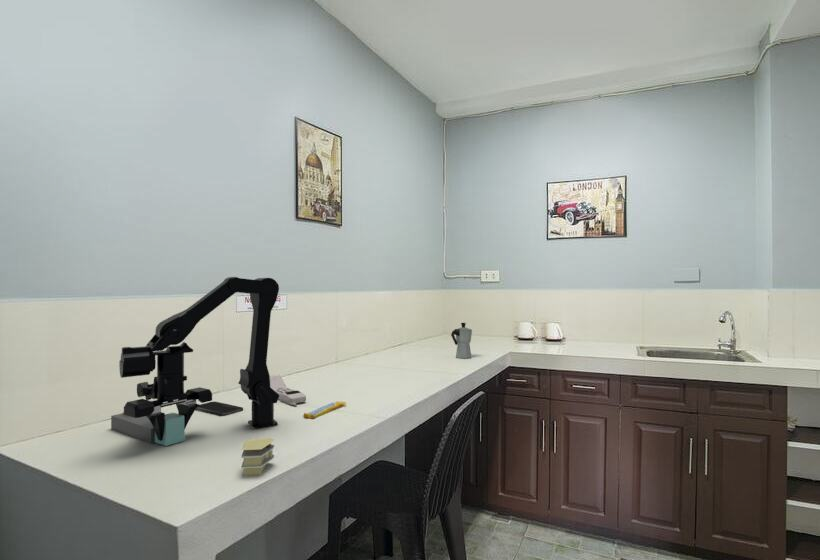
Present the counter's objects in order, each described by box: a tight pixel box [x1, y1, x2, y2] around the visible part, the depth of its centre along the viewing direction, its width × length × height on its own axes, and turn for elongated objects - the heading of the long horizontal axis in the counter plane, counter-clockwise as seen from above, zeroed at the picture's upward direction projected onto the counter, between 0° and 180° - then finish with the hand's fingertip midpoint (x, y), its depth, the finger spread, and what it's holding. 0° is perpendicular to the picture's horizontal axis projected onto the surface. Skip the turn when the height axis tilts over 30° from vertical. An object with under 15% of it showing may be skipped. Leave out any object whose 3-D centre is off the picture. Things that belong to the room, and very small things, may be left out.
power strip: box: [110, 411, 156, 444], centre depth 117 cm, size 20×6×4 cm, turn 56°
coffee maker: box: [450, 322, 473, 360], centre depth 235 cm, size 15×9×18 cm, turn 130°
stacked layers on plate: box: [240, 437, 275, 476], centre depth 94 cm, size 10×9×6 cm
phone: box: [195, 401, 244, 417], centre depth 138 cm, size 8×1×15 cm
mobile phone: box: [270, 374, 307, 407], centre depth 152 cm, size 6×6×25 cm
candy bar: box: [302, 401, 347, 420], centre depth 136 cm, size 17×4×2 cm, turn 154°
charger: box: [154, 412, 185, 447], centre depth 111 cm, size 8×4×6 cm, turn 56°
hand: (170, 437), depth 110 cm, fingers closed on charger, 4 cm apart
